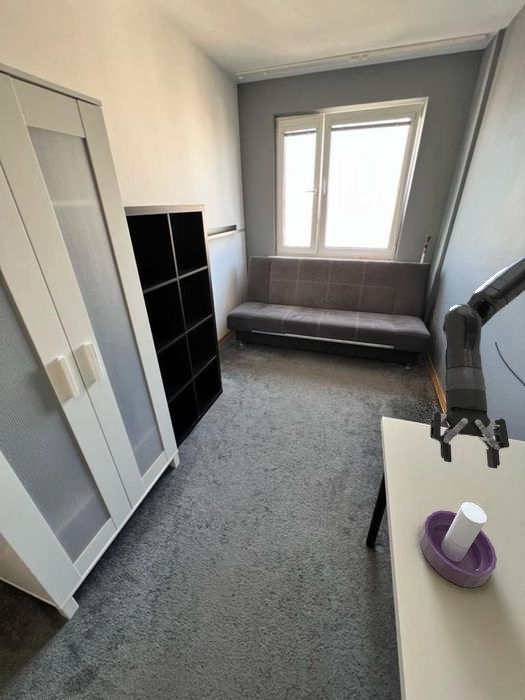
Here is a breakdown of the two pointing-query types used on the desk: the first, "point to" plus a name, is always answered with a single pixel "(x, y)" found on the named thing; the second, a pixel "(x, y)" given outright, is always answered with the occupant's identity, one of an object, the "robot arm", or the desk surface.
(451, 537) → the tube
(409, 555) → the desk surface
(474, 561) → the bowl
